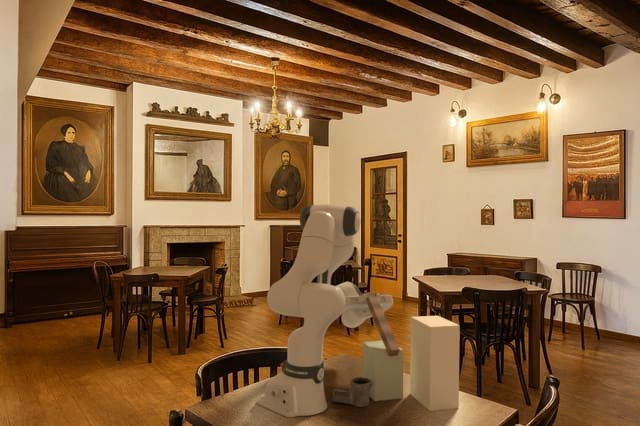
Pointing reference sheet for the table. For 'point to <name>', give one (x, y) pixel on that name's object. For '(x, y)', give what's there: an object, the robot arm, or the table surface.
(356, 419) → the table surface
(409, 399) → the table surface
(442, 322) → the tall stand
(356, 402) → the pipe
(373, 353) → the low stool
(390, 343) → the walnut bar
